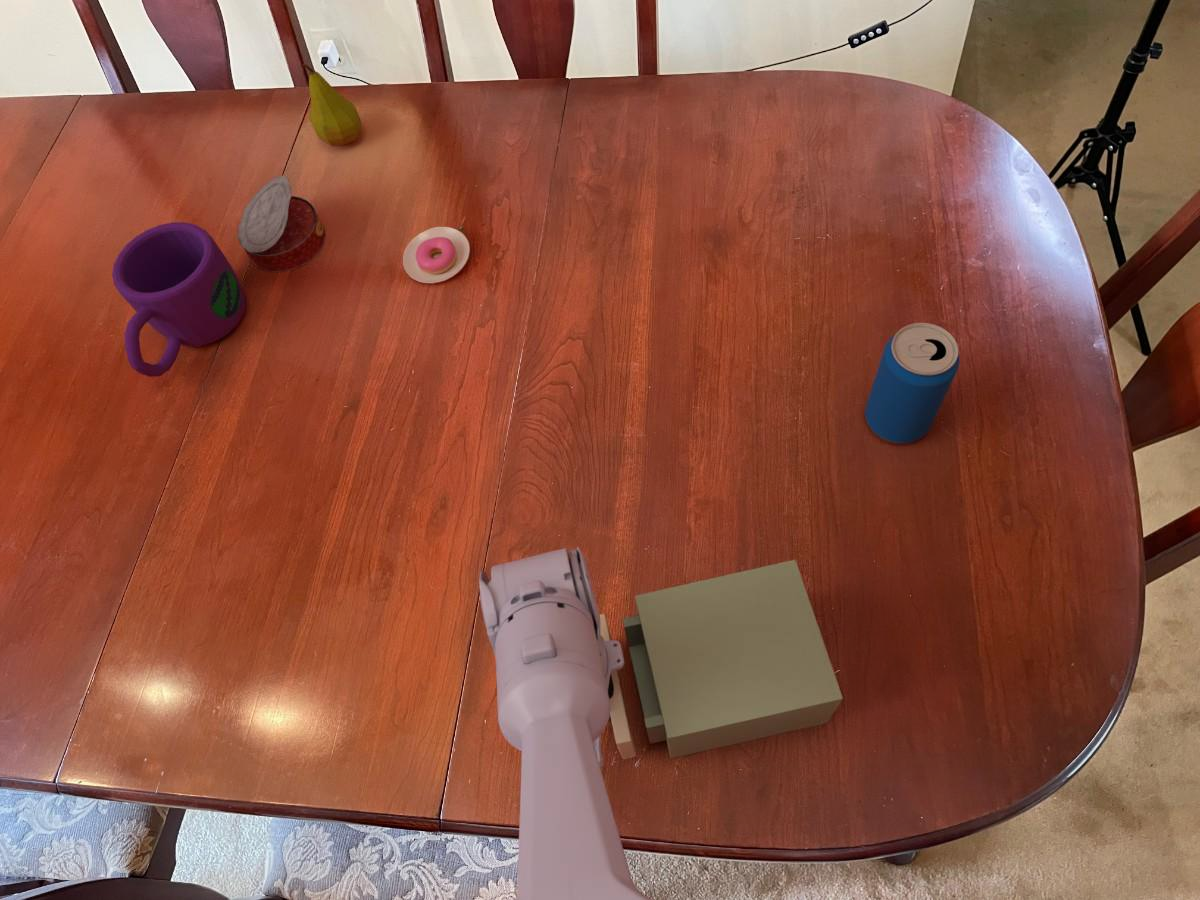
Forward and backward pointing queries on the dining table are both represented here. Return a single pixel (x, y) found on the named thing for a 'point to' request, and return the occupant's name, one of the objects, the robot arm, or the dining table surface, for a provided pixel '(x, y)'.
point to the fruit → (331, 112)
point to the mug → (176, 291)
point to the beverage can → (911, 382)
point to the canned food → (280, 228)
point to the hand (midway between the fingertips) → (583, 693)
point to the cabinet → (737, 658)
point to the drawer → (644, 688)
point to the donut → (436, 254)
